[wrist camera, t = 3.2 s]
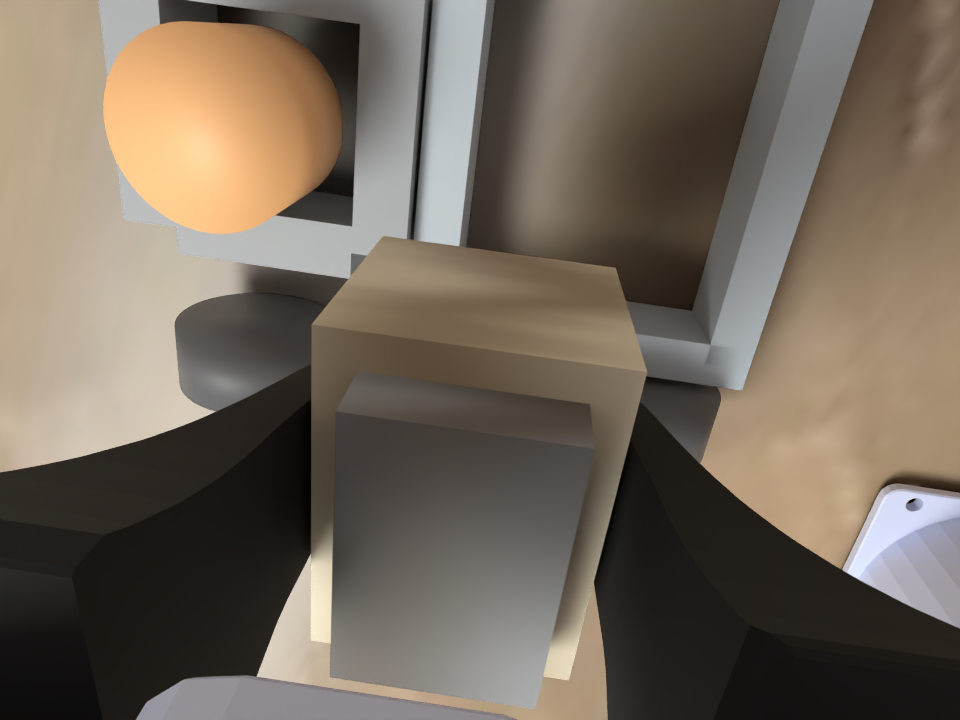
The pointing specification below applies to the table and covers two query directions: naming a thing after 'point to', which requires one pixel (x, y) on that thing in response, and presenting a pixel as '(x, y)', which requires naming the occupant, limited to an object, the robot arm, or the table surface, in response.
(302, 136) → the orange rounded peg
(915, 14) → the table surface
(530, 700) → the two-tone stepped block
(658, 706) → the robot arm
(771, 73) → the frame
